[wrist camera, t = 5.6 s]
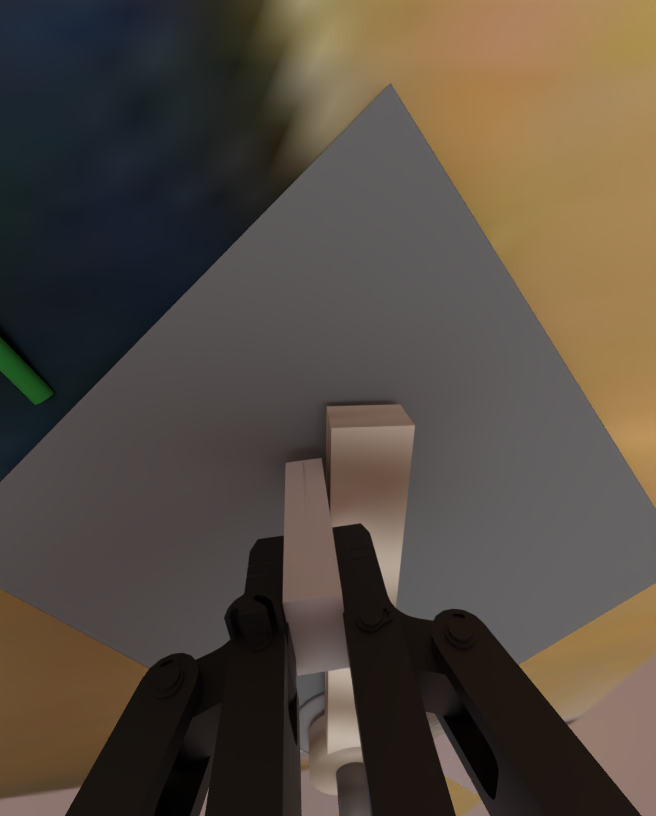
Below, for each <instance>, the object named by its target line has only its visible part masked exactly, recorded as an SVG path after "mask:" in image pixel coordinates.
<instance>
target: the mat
mask: <svg viewBox="0 0 656 816" xmlns="http://www.w3.org/2000/svg"><path fill="white" fill-rule="evenodd" d="M396 404H400V405H401V406H402V407H403V409H404V410H405V412H406V413H407V415H408V416H409V417H410V419H411V420H412V422H413V423H414V425H415V431H414V440H413V450H412V459H411V469H410V478H409V488H408V497H407V507H406V516H405V526H404V535H403V545H402V554H401V564H400V573H399V583H398V592H397V602H396V608H397V609H398V610H399V611H401V612H402V613H404V614H406V615H408V616H411V617H415V618H421V619H427V620H434V618H435V616H436V615H438V614H439V613H440V612H442V611H443V610H448V609H460V610H465V611H467V612H469V613H472V614H474V615H475V616H477V617H478V618H479V619H480V620H481V621H482V622H483V623H484V624H485V625H486V626H487V628H488V629H489V630H490V631H491V632H492V634H493V635H494V636H495V637H496V639H497V640H498V641H499V642H500V643H501V645H502V646H503V647H504V648H505V650H506V651H507V652H508V653H509V654H510V656H511V657H512V658H513V659H514V661H515V662H516V663H517V664H518V665H519V664H520V663H522V662H524V661H525V660H527V659H529V658H530V657H532V656H534V655H535V654H537V653H539V652H540V651H542V650H544V649H545V648H547V647H549V646H550V645H552V644H554V643H556V642H557V641H559V640H561V639H562V638H564V637H566V636H567V635H569V634H571V633H572V632H574V631H576V630H577V629H579V628H581V627H582V626H584V625H586V624H587V623H589V622H591V621H592V620H594V619H596V618H598V617H599V616H601V615H603V614H604V613H606V612H608V611H609V610H611V609H613V608H614V607H616V606H618V605H619V604H621V603H623V602H624V601H626V600H628V599H629V598H631V597H633V596H634V595H636V594H638V593H640V592H641V591H643V590H645V589H646V588H648V587H650V586H651V585H653V584H655V583H656V509H655V507H654V505H653V504H652V502H651V501H650V499H649V497H648V496H647V494H646V493H645V491H644V489H643V488H642V486H641V485H640V483H639V481H638V480H637V478H636V477H635V475H634V473H633V472H632V470H631V468H630V467H629V465H628V464H627V462H626V460H625V459H624V457H623V456H622V454H621V452H620V451H619V449H618V448H617V446H616V444H615V443H614V441H613V440H612V438H611V436H610V435H609V433H608V432H607V430H606V428H605V427H604V425H603V424H602V422H601V420H600V419H599V417H598V415H597V414H596V412H595V411H594V409H593V407H592V406H591V404H590V403H589V401H588V399H587V398H586V396H585V395H584V393H583V391H582V390H581V388H580V387H579V385H578V383H577V382H576V380H575V379H574V377H573V375H572V374H571V372H570V371H569V369H568V367H567V366H566V364H565V362H564V361H563V359H562V358H561V356H560V354H559V353H558V351H557V350H556V348H555V346H554V345H553V343H552V342H551V340H550V338H549V337H548V335H547V334H546V332H545V330H544V329H543V327H542V326H541V324H540V322H539V321H538V319H537V318H536V316H535V314H534V313H533V311H532V309H531V308H530V306H529V305H528V303H527V301H526V300H525V298H524V297H523V295H522V293H521V292H520V290H519V289H518V287H517V285H516V284H515V282H514V281H513V279H512V277H511V276H510V274H509V273H508V271H507V269H506V268H505V266H504V265H503V263H502V261H501V260H500V258H499V256H498V255H497V253H496V252H495V250H494V248H493V247H492V245H491V244H490V242H489V240H488V239H487V237H486V236H485V234H484V232H483V231H482V229H481V228H480V226H479V224H478V223H477V221H476V220H475V218H474V216H473V215H472V213H471V212H470V210H469V208H468V207H467V205H466V204H465V202H464V200H463V199H462V197H461V195H460V194H459V192H458V191H457V189H456V187H455V186H454V184H453V183H452V181H451V179H450V178H449V176H448V175H447V173H446V171H445V170H444V168H443V167H442V165H441V163H440V162H439V160H438V159H437V157H436V155H435V154H434V152H433V151H432V149H431V147H430V146H429V144H428V142H427V141H426V139H425V138H424V136H423V134H422V133H421V131H420V130H419V128H418V126H417V125H416V123H415V122H414V120H413V118H412V117H411V115H410V114H409V112H408V110H407V109H406V107H405V106H404V104H403V102H402V101H401V99H400V98H399V96H398V94H397V93H396V91H395V89H394V88H393V86H392V85H391V83H390V84H389V85H388V87H387V88H386V89H385V90H384V91H383V92H382V93H381V94H380V95H379V96H378V97H377V98H376V99H375V100H374V101H373V102H372V103H371V104H370V105H369V106H368V107H367V108H366V109H365V110H364V111H363V112H362V113H361V114H360V115H359V116H358V117H357V118H356V119H355V120H354V121H353V122H352V123H351V124H350V125H349V126H348V127H347V128H346V129H345V130H344V131H343V133H342V134H341V135H340V136H339V137H338V138H337V139H336V140H335V141H334V142H333V143H332V144H331V145H330V146H329V147H328V148H327V149H326V150H325V151H324V152H323V153H322V154H321V155H320V156H319V157H318V158H317V159H316V160H315V161H314V162H313V163H312V164H311V165H310V166H309V167H308V168H307V169H306V170H305V171H304V172H303V173H302V174H301V175H300V176H299V177H298V178H297V180H296V181H295V182H294V183H293V184H292V185H291V186H290V187H289V188H288V189H287V190H286V191H285V192H284V193H283V194H282V195H281V196H280V197H279V198H278V199H277V200H276V201H275V202H274V203H273V204H272V205H271V206H270V207H269V208H268V209H267V210H266V211H265V212H264V213H263V214H262V215H261V216H260V217H259V218H258V219H257V220H256V221H255V222H254V223H253V224H252V226H251V227H250V228H249V229H248V230H247V231H246V232H245V233H244V234H243V235H242V236H241V237H240V238H239V239H238V240H237V241H236V242H235V243H234V244H233V245H232V246H231V247H230V248H229V249H228V250H227V251H226V252H225V253H224V254H223V255H222V256H221V257H220V258H219V259H218V260H217V261H216V262H215V263H214V264H213V265H212V266H211V267H210V268H209V269H208V270H207V272H206V273H205V274H204V275H203V276H202V277H201V278H200V279H199V280H198V281H197V282H196V283H195V284H194V285H193V286H192V287H191V288H190V289H189V290H188V291H187V292H186V293H185V294H184V295H183V296H182V297H181V298H180V299H179V300H178V301H177V302H176V303H175V304H174V305H173V306H172V307H171V308H170V309H169V310H168V311H167V312H166V313H165V314H164V315H163V316H162V317H161V319H160V320H159V321H158V322H157V323H156V324H155V325H154V326H153V327H152V328H151V329H150V330H149V331H148V332H147V333H146V334H145V335H144V336H143V337H142V338H141V339H140V340H139V341H138V342H137V343H136V344H135V345H134V346H133V347H132V348H131V349H130V350H129V351H128V352H127V353H126V354H125V355H124V356H123V357H122V358H121V359H120V360H119V361H118V362H117V363H116V365H115V366H114V367H113V368H112V369H111V370H110V371H109V372H108V373H107V374H106V375H105V376H104V377H103V378H102V379H101V380H100V381H99V382H98V383H97V384H96V385H95V386H94V387H93V388H92V389H91V390H90V391H89V392H88V393H87V394H86V395H85V396H84V397H83V398H82V399H81V400H80V401H79V402H78V403H77V404H76V405H75V406H74V407H73V408H72V409H71V411H70V412H69V413H68V414H67V415H66V416H65V417H64V418H63V419H62V420H61V421H60V422H59V423H58V424H57V425H56V426H55V427H54V428H53V429H52V430H51V431H50V432H49V433H48V434H47V435H46V436H45V437H44V438H43V439H42V440H41V441H40V442H39V443H38V444H37V445H36V446H35V447H34V448H33V449H32V450H31V451H30V452H29V453H28V454H27V455H26V456H25V458H24V459H23V460H22V461H21V462H20V463H19V464H18V465H17V466H16V467H15V468H14V469H13V470H12V471H11V472H10V473H9V474H8V475H7V476H6V477H5V478H4V479H3V480H2V481H1V482H0V589H2V590H4V591H6V592H7V593H9V594H11V595H13V596H15V597H17V598H19V599H20V600H22V601H24V602H26V603H28V604H30V605H32V606H34V607H35V608H37V609H39V610H41V611H43V612H45V613H47V614H49V615H50V616H52V617H54V618H56V619H58V620H60V621H62V622H63V623H65V624H67V625H69V626H71V627H73V628H75V629H77V630H78V631H80V632H82V633H84V634H86V635H88V636H90V637H91V638H93V639H95V640H97V641H99V642H101V643H103V644H105V645H106V646H108V647H110V648H112V649H114V650H116V651H118V652H120V653H121V654H123V655H125V656H127V657H129V658H131V659H133V660H134V661H136V662H138V663H140V664H142V665H144V666H146V667H148V668H149V669H150V668H151V667H152V666H153V665H154V664H156V663H157V662H158V661H159V660H160V659H162V658H164V657H166V656H169V655H171V654H175V653H186V654H189V655H192V657H193V658H194V659H195V660H196V659H198V658H201V657H203V656H205V655H207V654H209V653H211V652H213V651H215V650H217V649H218V648H220V647H222V646H223V645H224V644H225V643H227V642H228V641H229V640H230V636H229V633H228V630H227V626H226V623H225V620H224V617H225V614H226V612H227V609H228V608H229V606H230V605H231V604H232V603H233V602H234V600H236V599H237V598H239V597H240V596H242V595H243V594H244V591H245V584H246V578H247V569H248V561H249V554H250V550H251V549H252V547H253V546H254V544H255V542H256V541H257V539H262V538H269V537H276V536H283V535H284V513H285V467H286V463H288V462H295V461H303V460H310V459H317V458H322V465H323V472H324V478H325V485H326V417H327V406H358V405H396ZM296 687H297V692H298V697H299V720H300V749H301V750H303V751H305V752H306V753H308V754H309V741H308V734H309V730H310V728H311V726H312V724H313V723H314V722H315V721H316V720H317V719H318V718H320V717H321V716H323V715H324V714H325V672H318V673H312V674H306V675H300V676H298V675H297V670H296Z"/></svg>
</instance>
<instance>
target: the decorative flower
mask: <svg viewBox="0 0 656 816" xmlns="http://www.w3.org/2000/svg"><path fill="white" fill-rule="evenodd" d="M0 371H1V372H2V373H3V374H4V375H5V376H6V377H7V378H8V379H9V380H10V381H11V382H12V383H13V384H14V385H15V386H17V387H18V388H19V389H20V390H21V391H22V392H23V393H24V394H25V395H26V396H27V397H28V398H29V399H30V400H31V401H32V402H33V403H34V404H35V405H36V404H39V403H41V402H43V401H44V400H46V399H48V398H49V397H50V396H52V395H53V394H54V392H53V391H52V389H51V388H50V387H49V386H48V385H47V384H46V383H45V382H44V381H43V380H42V379H41V378H40V377H39V376H38V375H37V374H36V373H35V372H34V371H33V370H32V369H31V368H30V367H29V366H28V365H27V364H26V363H25V362H24V361H23V360H22V359H21V358H20V356H19V355H18V354H17V353H16V352H15V351H14V350H13V349H12V348H11V347H10V346H9V345H8V344H7V343H6V342H5V341H4V340H3V339H2V338H1V337H0Z"/></svg>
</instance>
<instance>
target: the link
mask: <svg viewBox="0 0 656 816" xmlns="http://www.w3.org/2000/svg"><path fill="white" fill-rule="evenodd" d="M414 431H415V425H414V423H413V422H412V420H411V419H410V417H409V416H408V415H407V413H406V412H405V410H404V409H403V407H402V406H401V405H400V404H396V405H358V406H327V417H326V491H327V498H328V505H329V511H330V518H331V524H332V527H338V526H345V525H352V524H359V523H361V524H362V525H363V526H364V527H365V528H366V529H367V530H368V531H369V532H370V535H371V538H372V542H373V545H374V549H375V552H376V556H377V559H378V563H379V566H380V570H381V573H382V577H383V580H384V584H385V587H386V591H387V594H388V597H389V599H390V601H391V603H392V604H393V605H394V606H395V607H396V602H397V592H398V583H399V573H400V564H401V554H402V545H403V535H404V526H405V516H406V507H407V497H408V488H409V478H410V469H411V459H412V450H413V440H414ZM308 741H309V770H310V781H311V783H312V785H313V786H314V787H315V788H317V789H318V790H319V791H321V792H324V793H327V794H331V795H338V805H339V816H371V814H370V807H369V800H368V793H367V786H366V779H365V772H364V765H363V758H362V751H361V744H360V737H359V729H358V722H357V715H356V709H355V703H354V695H353V687H352V679H351V673H350V668H344V669H338V670H331V671H325V714H324V715H323V716H321V717H320V718H318V719H317V720H316V721H315V722H314V723H313V724H312V726H311V728H310V730H309V734H308Z"/></svg>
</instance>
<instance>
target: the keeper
mask: <svg viewBox="0 0 656 816" xmlns="http://www.w3.org/2000/svg"><path fill="white" fill-rule="evenodd" d="M426 715H427V719H428V722H429V726H430V729H431V733H432V736H433V739H434V743H435V746H436V750H437V753H438V757H439V760H440V763H441V767H442V770H443V774H444V775H445V776H446V777H448V778H450V779H451V780H453V781H454V782H456V783H458V784H459V785H461V786H463V787H464V788H466V789H467V790H469V791H471V792H472V793H474V794H477V793H478V792H477V790H476V789H475V787H474V785H473V783H472V781H471V779H470V778H469V776H468V774H467V772H466V770H465V768H464V767H463V765H462V763H461V761H460V759H459V757H458V756H457V754H456V752H455V750H454V748H453V746H452V745H451V743H450V741H449V739H448V737H447V735H446V734H445V732H444V730H443V728H442V726H441V724H440V723H439V721H438V719H437V717H436V715H435V714H434V713H429V712H426Z"/></svg>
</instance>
